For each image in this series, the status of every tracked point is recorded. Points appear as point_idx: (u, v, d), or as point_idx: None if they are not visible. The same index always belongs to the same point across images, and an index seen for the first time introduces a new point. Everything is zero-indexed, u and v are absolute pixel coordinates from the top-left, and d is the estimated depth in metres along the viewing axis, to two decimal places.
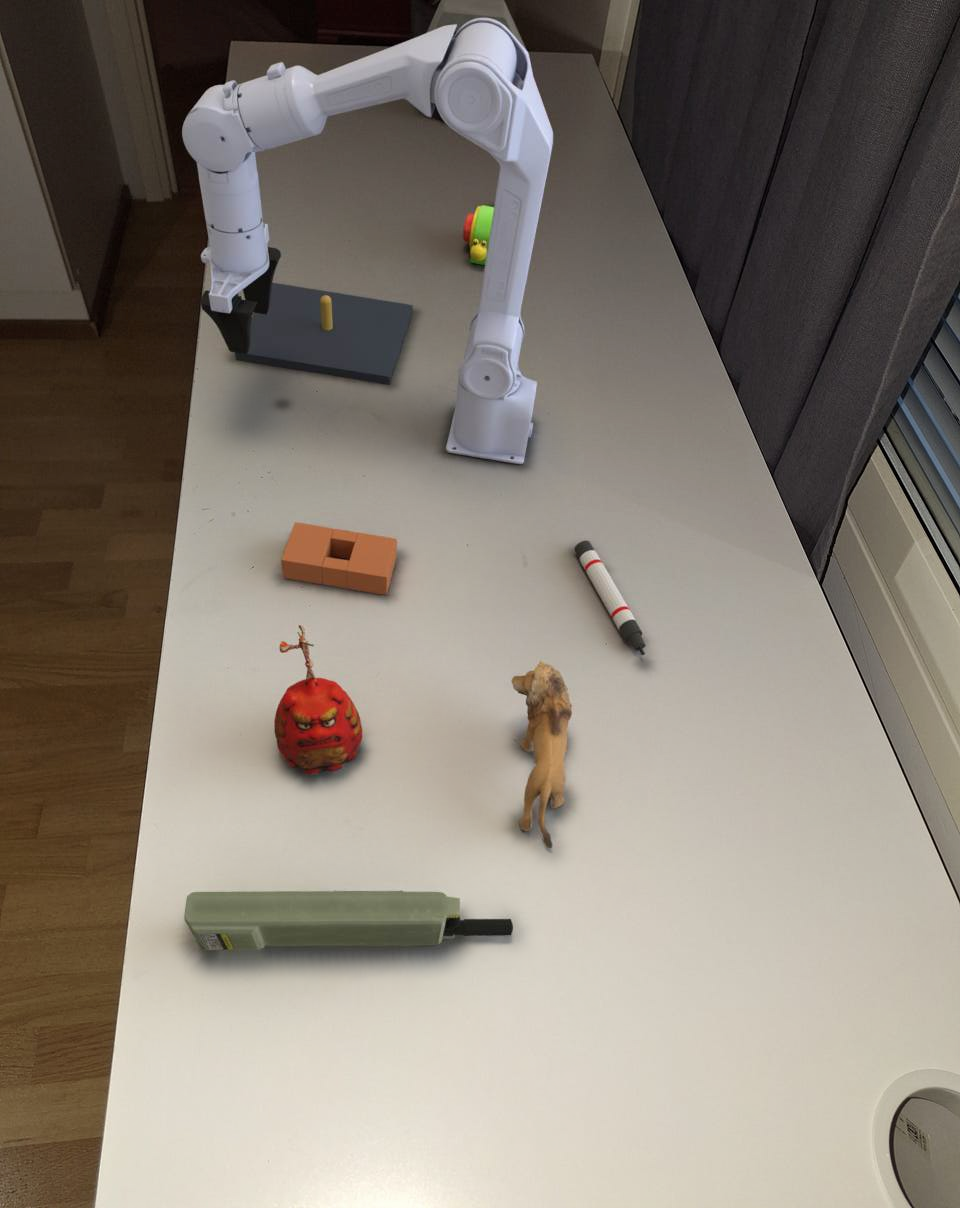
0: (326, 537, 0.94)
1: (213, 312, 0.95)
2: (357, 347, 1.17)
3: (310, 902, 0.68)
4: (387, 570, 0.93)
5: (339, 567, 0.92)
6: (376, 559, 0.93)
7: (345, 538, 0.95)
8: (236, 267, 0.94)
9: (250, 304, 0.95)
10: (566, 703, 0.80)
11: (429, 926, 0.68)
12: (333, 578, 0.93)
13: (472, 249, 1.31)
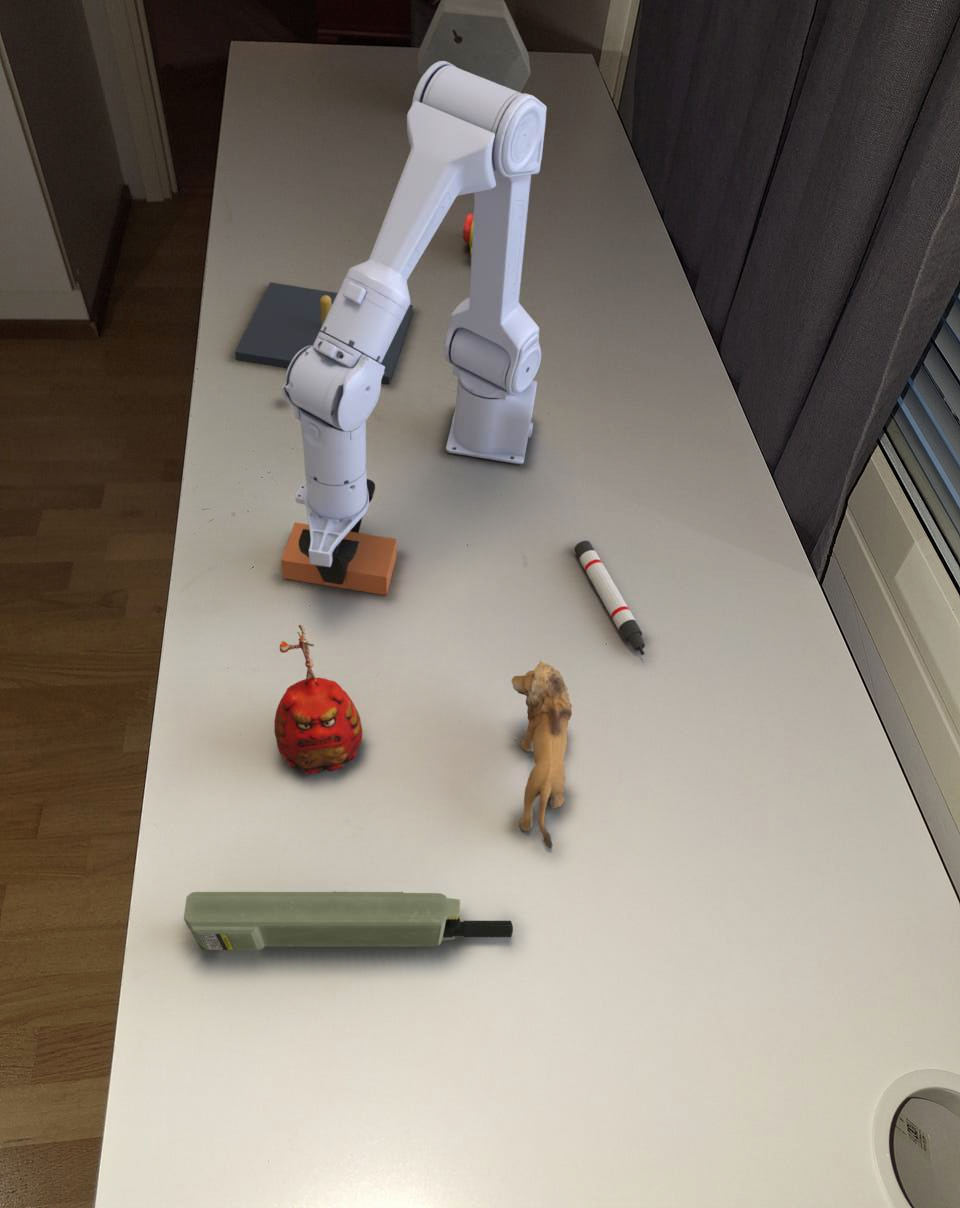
0: None
1: None
2: None
3: (310, 902, 0.67)
4: (387, 570, 0.92)
5: None
6: (376, 559, 0.93)
7: (345, 538, 0.95)
8: (336, 514, 0.85)
9: (352, 545, 0.87)
10: (566, 703, 0.80)
11: (429, 928, 0.68)
12: None
13: None
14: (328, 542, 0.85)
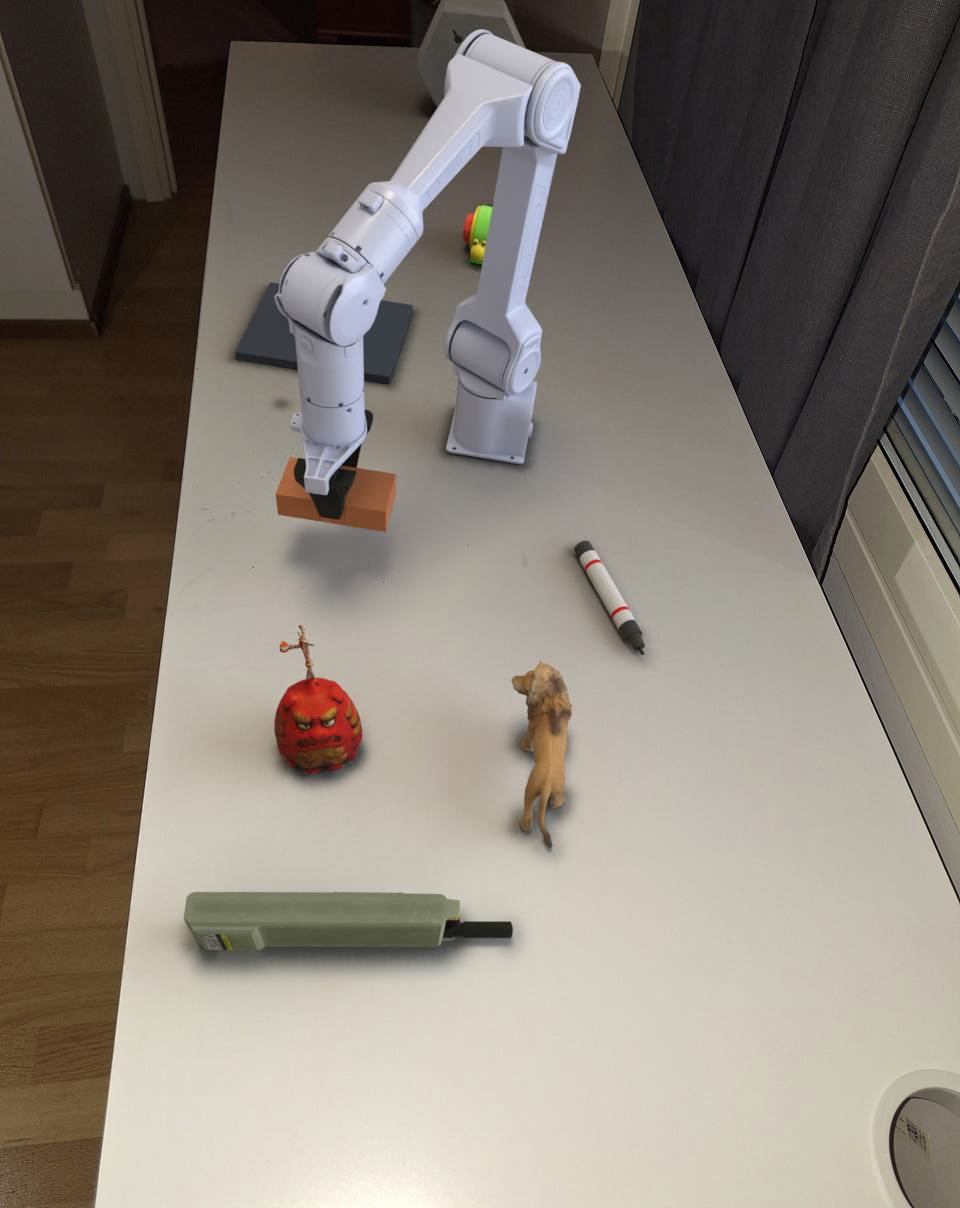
0: None
1: None
2: None
3: (310, 903, 0.67)
4: (386, 505, 0.89)
5: None
6: (374, 494, 0.89)
7: None
8: (333, 440, 0.82)
9: (349, 474, 0.83)
10: (566, 703, 0.80)
11: (429, 928, 0.68)
12: None
13: (472, 249, 1.31)
14: (324, 469, 0.81)
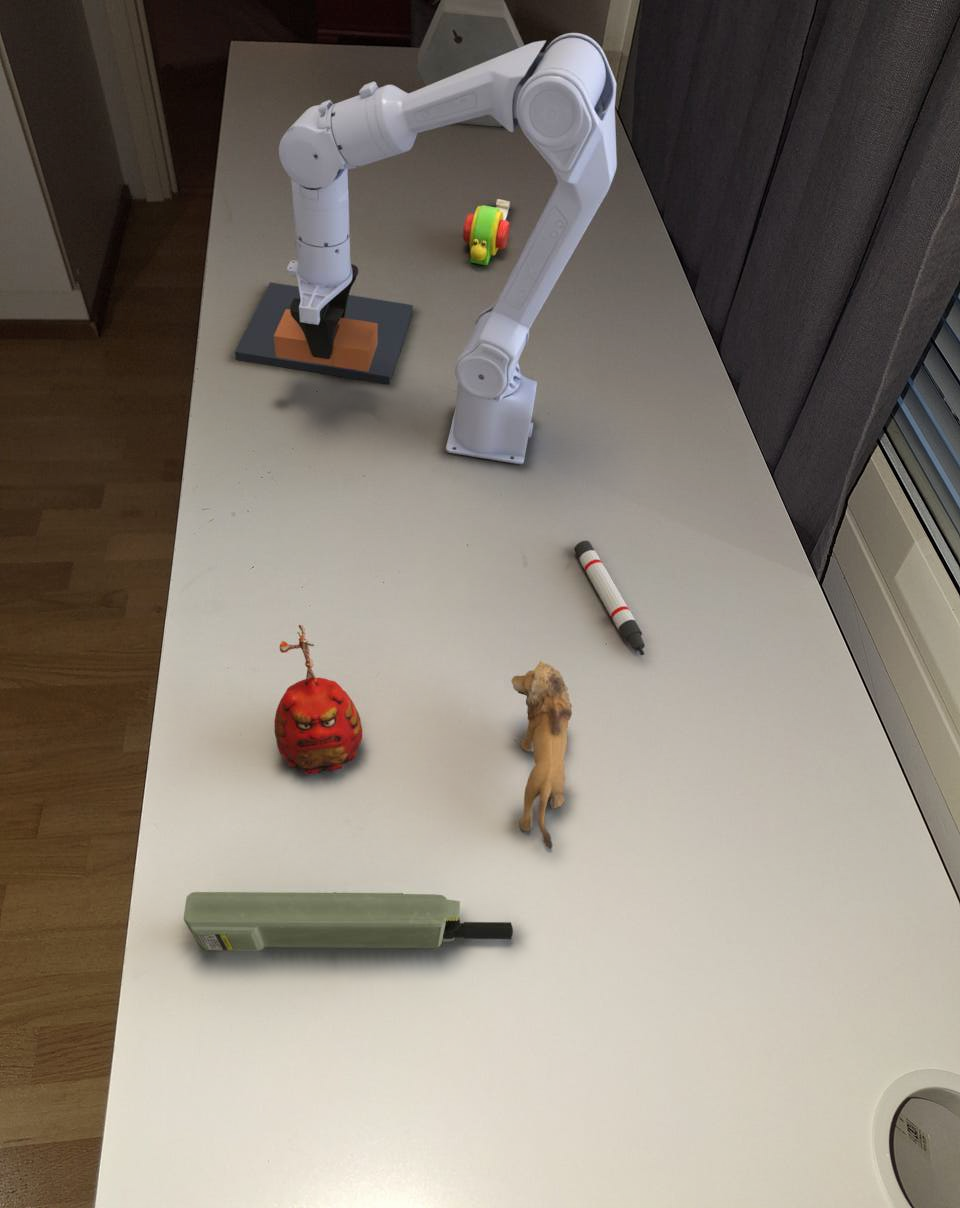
0: None
1: None
2: None
3: (310, 903, 0.67)
4: (368, 345, 1.04)
5: None
6: (358, 337, 1.04)
7: None
8: (323, 280, 0.97)
9: (337, 311, 0.98)
10: (566, 703, 0.80)
11: (428, 929, 0.68)
12: None
13: (472, 249, 1.31)
14: (316, 302, 0.96)
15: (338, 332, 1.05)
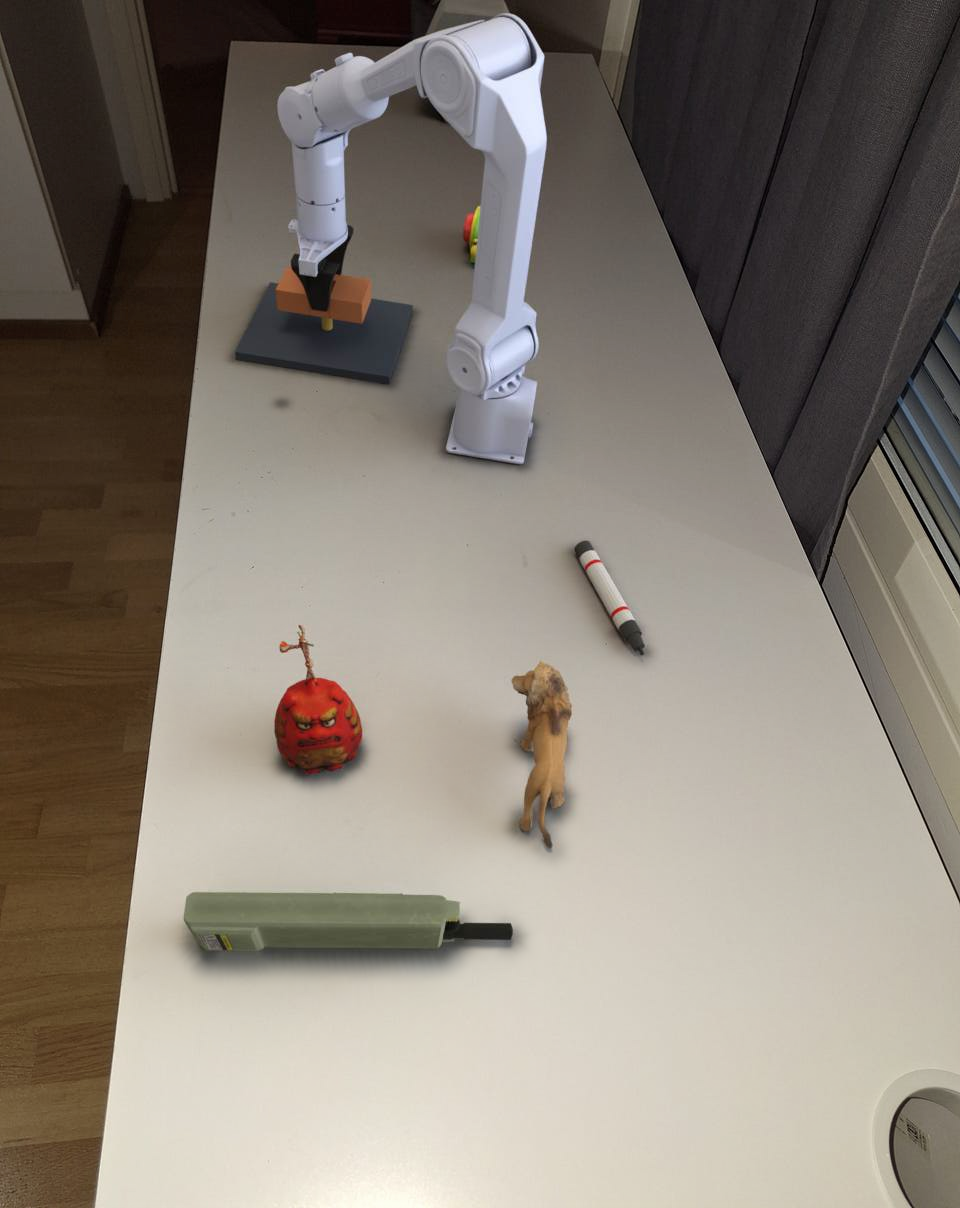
0: None
1: None
2: (357, 347, 1.17)
3: (310, 903, 0.67)
4: (362, 299, 1.13)
5: None
6: (353, 292, 1.14)
7: None
8: (321, 236, 1.06)
9: (334, 265, 1.08)
10: (566, 703, 0.80)
11: (428, 930, 0.68)
12: None
13: (472, 249, 1.31)
14: (314, 256, 1.05)
15: (335, 287, 1.14)
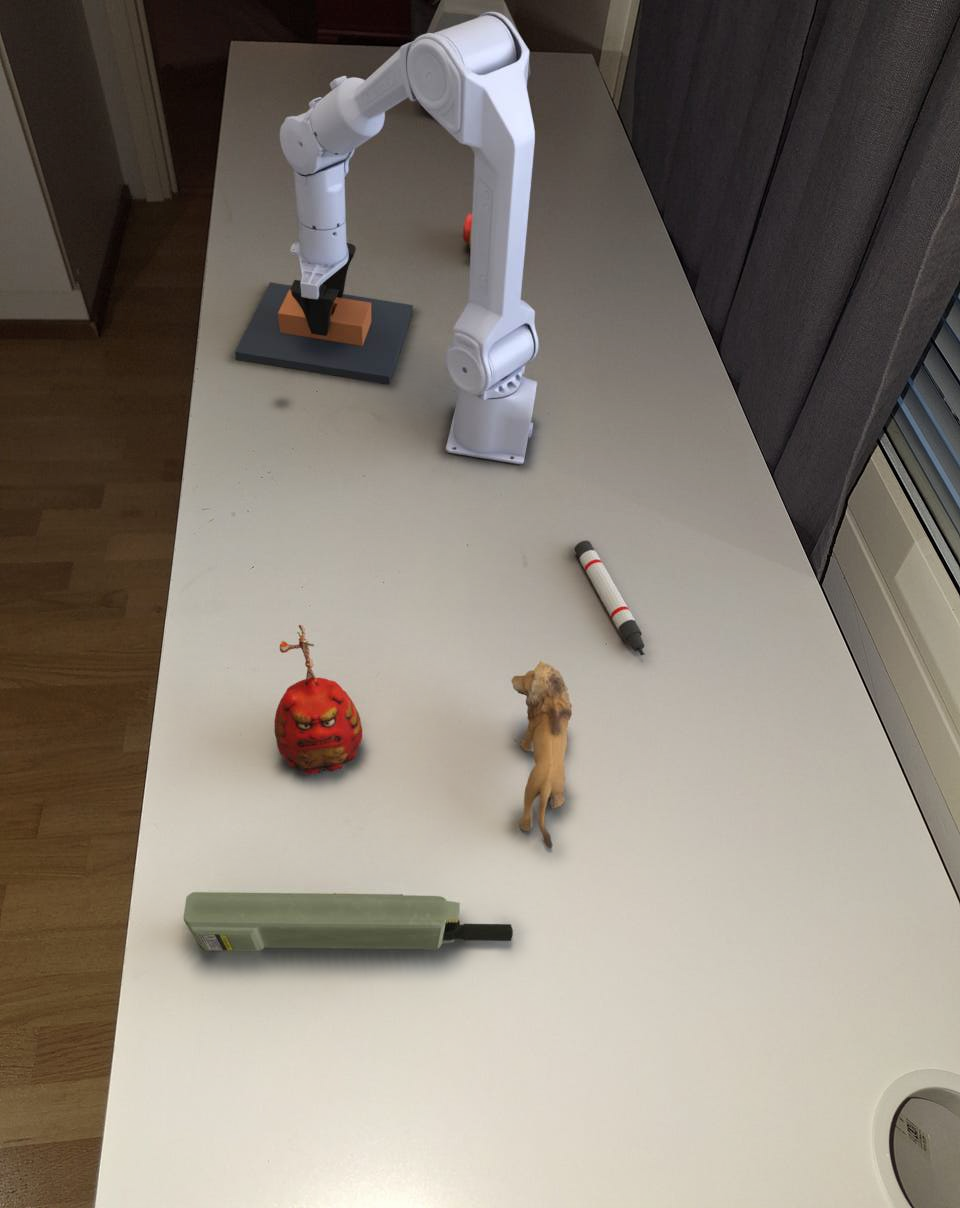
0: None
1: (301, 298, 1.10)
2: (357, 347, 1.17)
3: (310, 904, 0.67)
4: (362, 322, 1.16)
5: None
6: (354, 315, 1.16)
7: None
8: (322, 259, 1.08)
9: (333, 292, 1.10)
10: (566, 703, 0.80)
11: (428, 930, 0.68)
12: None
13: None
14: (316, 280, 1.08)
15: (336, 310, 1.17)
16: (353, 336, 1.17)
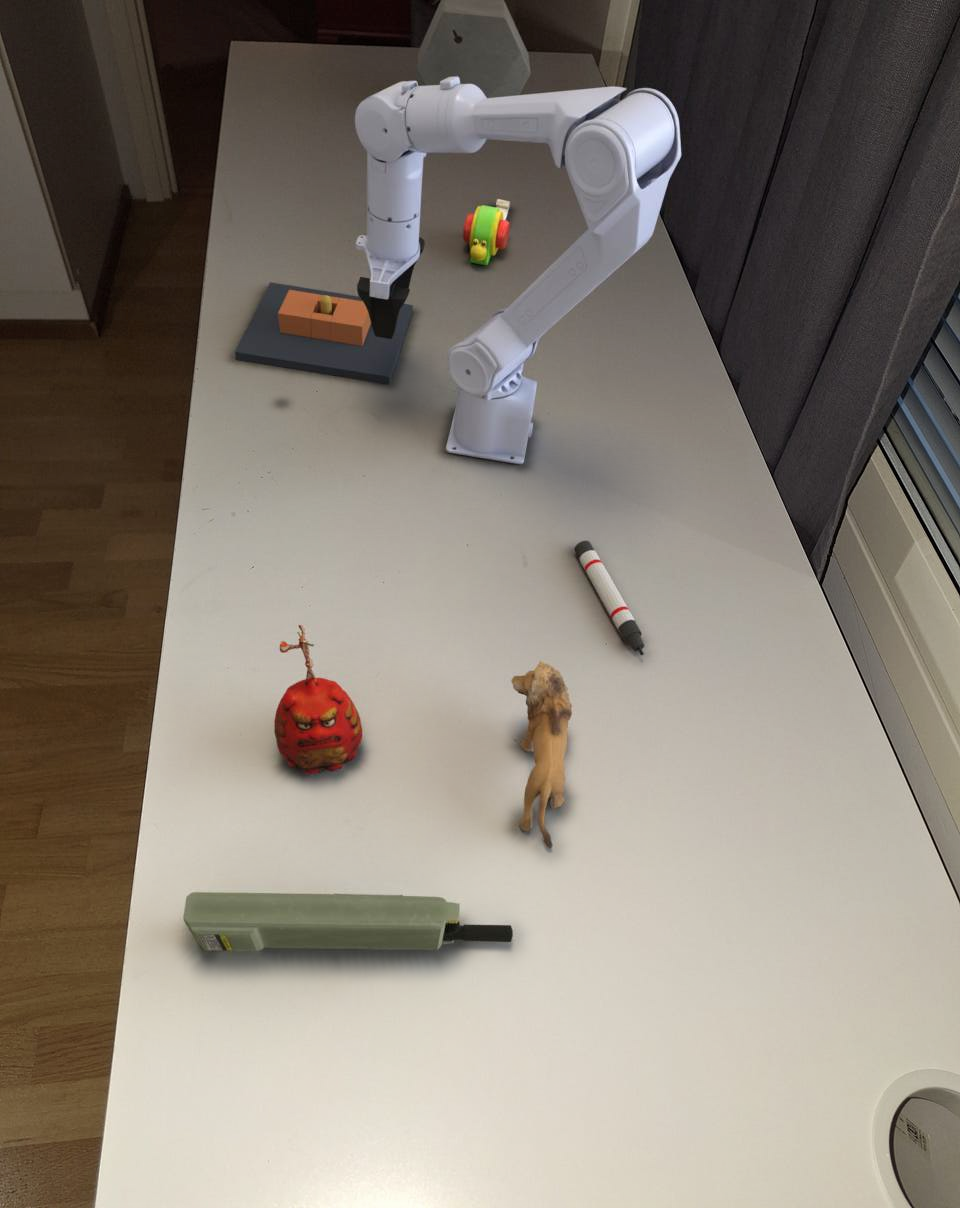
0: (314, 299, 1.18)
1: (368, 298, 0.98)
2: (357, 347, 1.17)
3: (310, 904, 0.67)
4: (362, 322, 1.16)
5: (324, 319, 1.15)
6: (354, 315, 1.16)
7: None
8: (393, 255, 0.97)
9: (404, 291, 0.99)
10: (566, 703, 0.80)
11: (428, 931, 0.68)
12: (319, 330, 1.17)
13: (472, 249, 1.31)
14: (386, 277, 0.97)
15: (336, 310, 1.17)
16: (353, 336, 1.17)
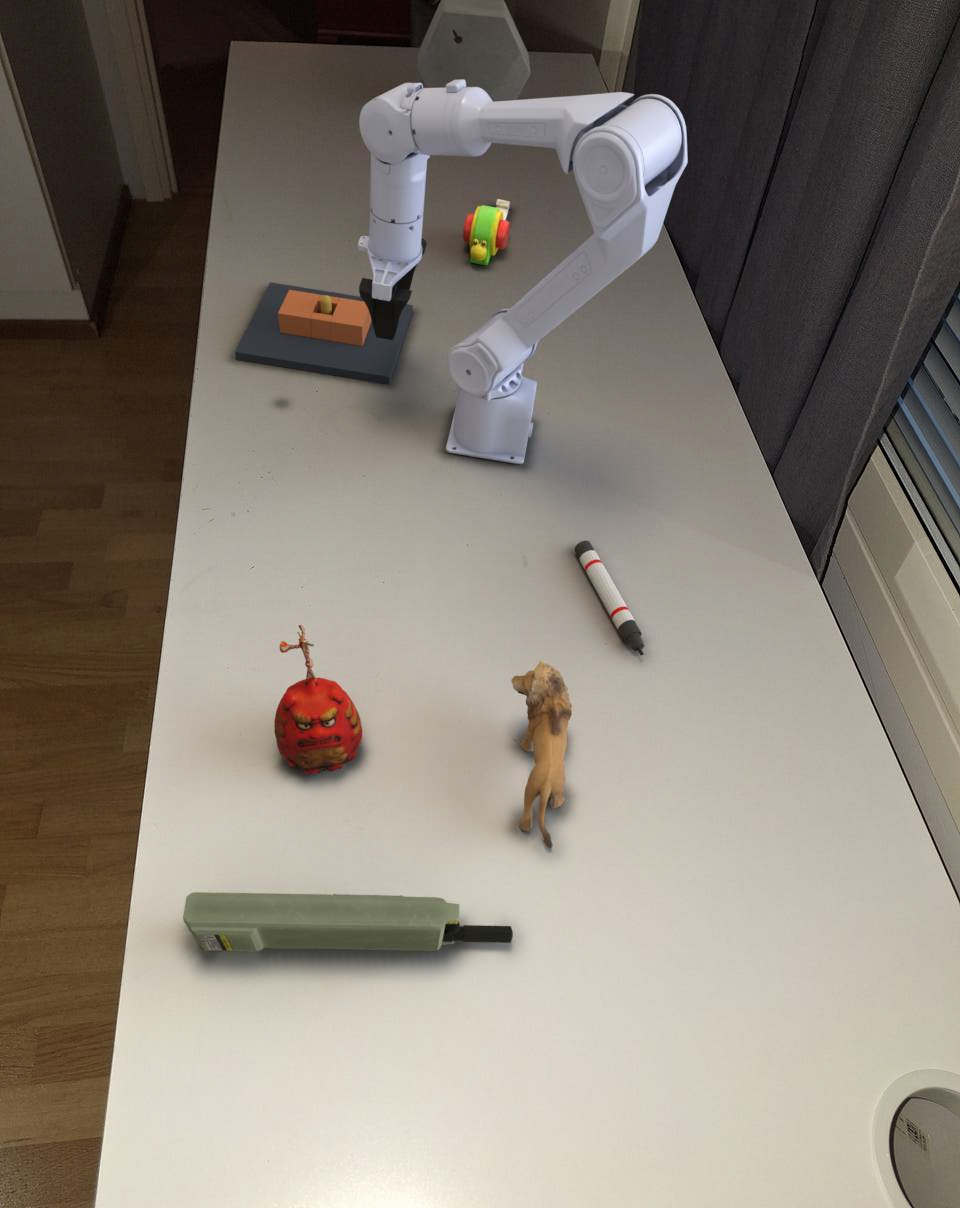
0: (314, 299, 1.18)
1: (370, 299, 0.98)
2: (357, 347, 1.17)
3: (310, 905, 0.67)
4: (362, 322, 1.16)
5: (324, 319, 1.15)
6: (354, 315, 1.16)
7: None
8: (395, 256, 0.97)
9: (406, 292, 0.98)
10: (566, 703, 0.80)
11: (428, 932, 0.68)
12: (319, 330, 1.17)
13: (472, 249, 1.31)
14: (388, 279, 0.96)
15: (336, 310, 1.17)
16: (353, 336, 1.17)
